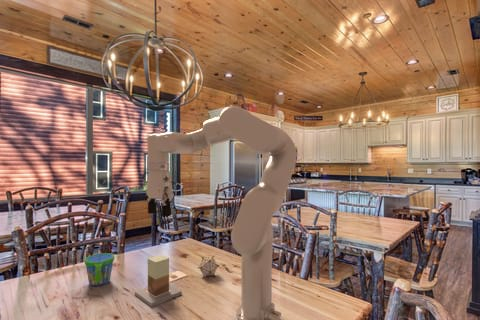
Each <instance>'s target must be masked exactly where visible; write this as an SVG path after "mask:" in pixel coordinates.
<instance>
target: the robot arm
mask: <svg viewBox="0 0 480 320" xmlns="http://www.w3.org/2000/svg"><path fill="white" fill-rule="evenodd" d="M146 139H147V173H148V174H147V187H146V188H147V189H146V190H145V194H146V201H147V213H148V215H150V214H155V213H156V214H157V202H156V201H157V200H159V201H161V203H162V205H161V217H162V218H165V217H167V218H168V217H170V216H171V215H172V213H171V212H172V208H171V205H172V202H173V198H174V193H173V187H172V186H173V185H172V184H173V183H172V176H171V172H170V154H172V155H173V154H175V155H177V154H180V155H188V154H193V153H196V152H199V151H203V150H206V149H208V148H211V147H213V146H214V145H218V144H222V143H225V142H228V141H229V142H230V141H232V140H235V139H236V141H239V142H240V143H242V144H244V145H245V146H247V147H249V148H250V149H252V150H254V151H256V152H258V153H261V154H268V155H269V157H268V160H267V163H266V165H265V166H264V169H263V171H262V176H261V178H260V180H259V183H258V185H257V186H254V187H253V188H251V189H250V190H248V192H246V194H245V195H244V196H243V197H244V198H243V200H242V202H241V204H240V207H239V209H238V212H237V215H236V218H235V221H234V224H233V226H232V231H231V235H230V240H231V245H232V248H233V249H234V250H235V251H236V252H237V253H238V254H240V255H241V297H240V299H241V301H240V302H241V304H240V306H238V308H237V309H236V319H237V320H281V316H282V312H279V310H278V311H277V310H276V309H275V303H274V302H272V301H273V299H272V296H273V295H272V293H273V291H272V290H273V289H272V287H273V286H272V284H273V283H272V282H273V281H272V276H273V272H272V271H273V270H272V268H273V266H272V265H273V264H272V263H273V245H274V227H273V224H272V222H271V221H272V219H273V217H274V215H276V213H278V212H279V211H280V209H281V207H282V205H283V202H284V199H285V196H286V193H287V191H288V188H289V185H290V182H291V178H292V175H293V173H294V171H295V167H296V163H297V147H296V145H295V143H294V141H293V139H292V138H291V137H290V135H289V134H288V133H287V132H285V131H284V130H283V129H282V128H279V127H278V126H275V125H273V124H271V123H269V122H267V121H265V120H263V119H261V118H259V117H258V116H255V115H253V114H252V113H251V112H250V111H249V110H246V109H244V108H242V107H240V106H237V105H231V106H227V107H225V108H224V109H223V110H222V111H221V112H220V113H219V116H217V117H213V118H211V119H207V120H205V121H204V122H203V126H202V128H201V129H199V130H196V131H193V132H190V133H182V132H175V131H168V132H163V133H151V134H148V136H147V138H146Z"/></svg>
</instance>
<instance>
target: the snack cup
mask: <svg viewBox="0 0 480 320" xmlns="http://www.w3.org/2000/svg"><path fill="white" fill-rule="evenodd" d="M114 261H115V255H114V254H113V253H109V252H102V253H96V254H91V255H89V256H88V257H85V258H84V265H85V266H86V274H87V279H88V284H89V286H94V287H100V286H105V285H106V284H108V283H109V282H110V280H111V277H112V271H113V263H114Z"/></svg>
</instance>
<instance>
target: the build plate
mask: <svg viewBox="0 0 480 320" xmlns="http://www.w3.org/2000/svg"><path fill="white" fill-rule="evenodd" d="M182 292H183V291H182V290H181V289H179V288H178V287H176V286H175V285H172V284H170V283H169V291H168V292H165V293H163V294H160V295H158V296H154V295H153V294H151V293H150V292H148V286H147V287H144V288H141V289H139V290H135V291H134V295H135V296H136V297H137V298H138V299H140V300H142V302H144V303H146V304H147V305H148V306H149V307H151V308H152V307H155V306H158V305H160V304H163V303H164V302H167V301H169V300H171V299H174V298H176V297H179V296H180V295H182Z"/></svg>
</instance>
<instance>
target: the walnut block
mask: <svg viewBox="0 0 480 320" xmlns="http://www.w3.org/2000/svg"><path fill="white" fill-rule="evenodd" d="M169 284H170V283H169V275H166V276H164V277H161V278H158V279H154V278H152V277H151V276H149V275H148V274H147V287H148V292H150V293H151V294H153V295H154V296H158V295H160V294H163V293H165V292H168V291H169Z"/></svg>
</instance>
